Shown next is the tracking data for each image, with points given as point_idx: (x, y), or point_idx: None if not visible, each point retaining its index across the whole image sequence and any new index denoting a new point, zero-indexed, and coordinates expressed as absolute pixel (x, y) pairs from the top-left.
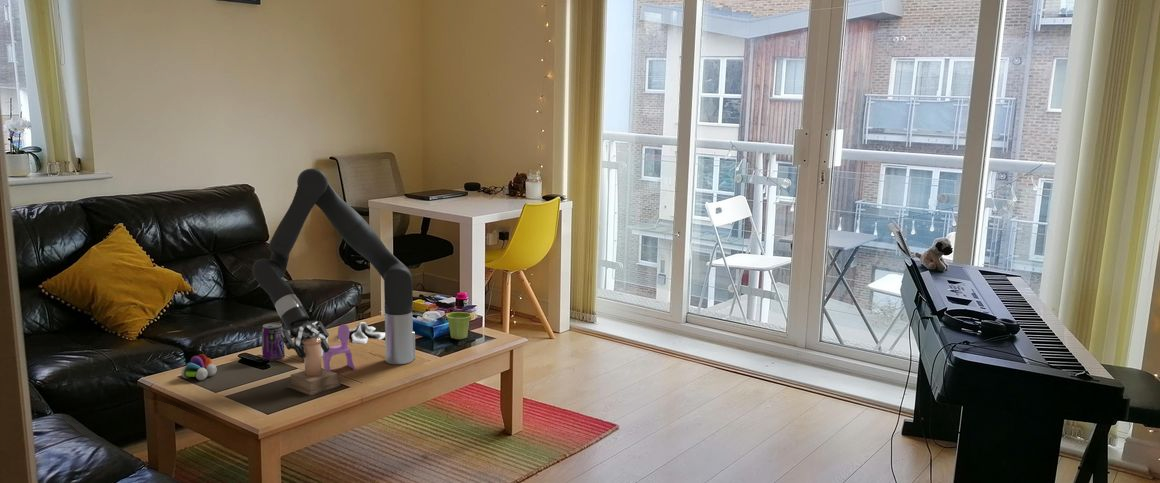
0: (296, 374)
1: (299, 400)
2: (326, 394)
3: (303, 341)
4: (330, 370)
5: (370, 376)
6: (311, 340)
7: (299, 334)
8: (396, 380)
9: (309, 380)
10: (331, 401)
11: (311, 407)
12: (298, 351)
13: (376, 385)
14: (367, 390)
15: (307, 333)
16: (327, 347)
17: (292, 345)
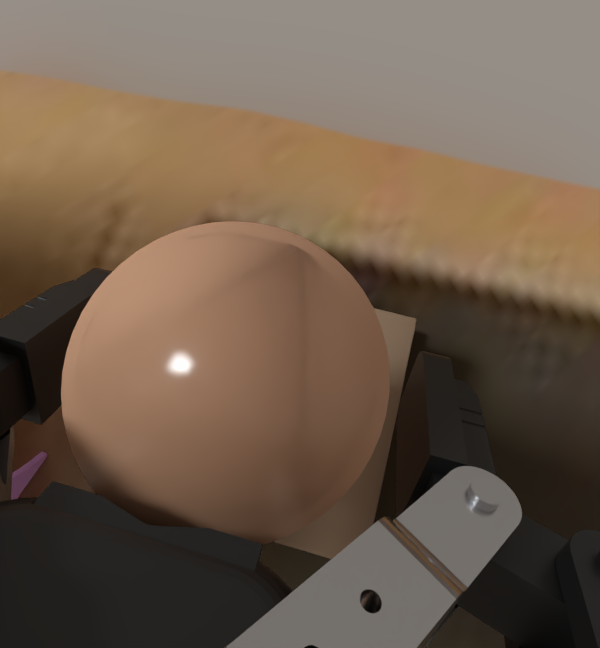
0: (335, 525)
1: (504, 334)
2: (357, 261)
3: (362, 461)
4: (28, 465)
5: (14, 223)
6: (249, 362)
7: (362, 639)
8: (35, 79)
9: (398, 342)
10: (429, 177)
11: (547, 212)
12: (481, 441)
13: (135, 120)
14: (217, 118)
15: (89, 573)
16: (103, 276)
17: (597, 535)
